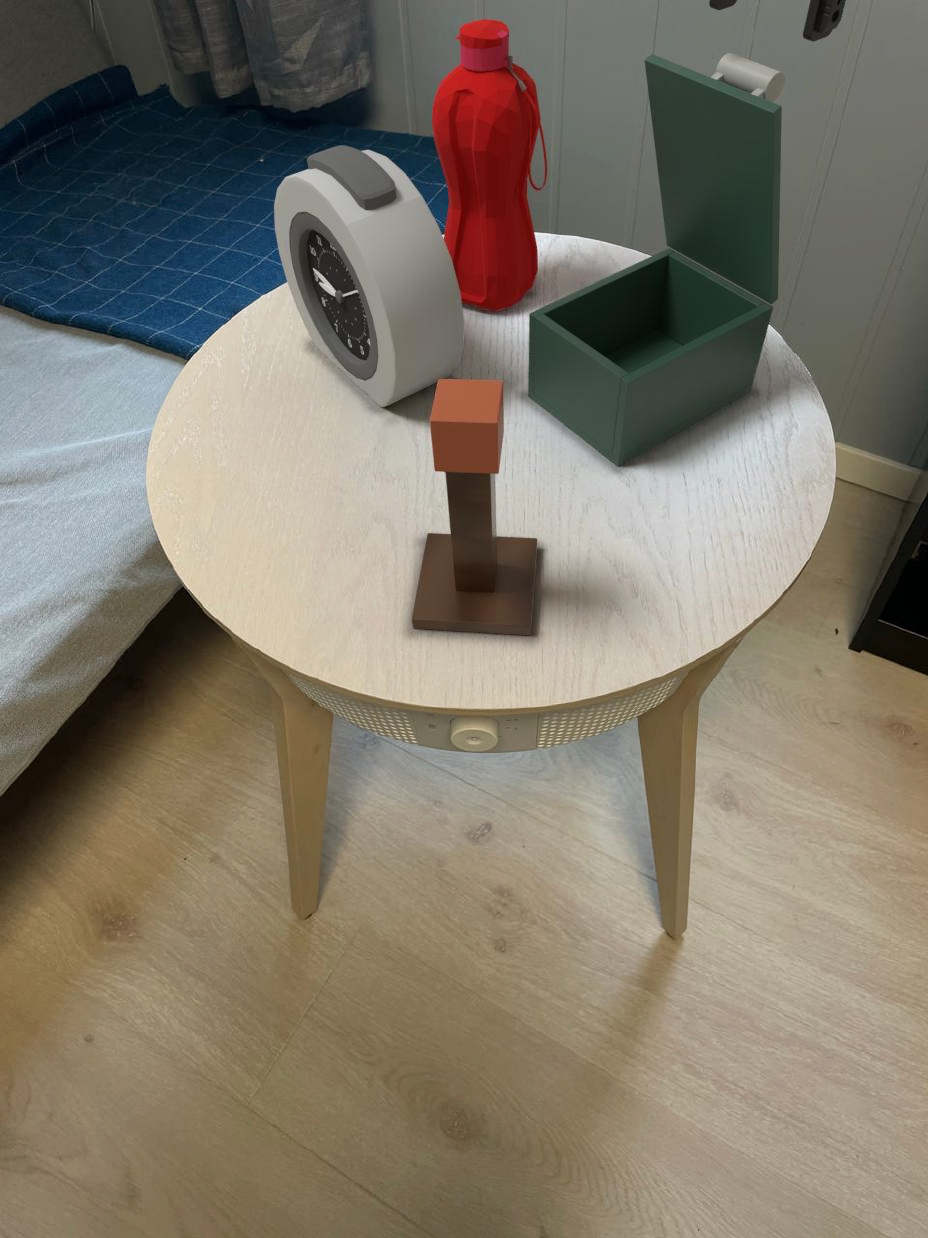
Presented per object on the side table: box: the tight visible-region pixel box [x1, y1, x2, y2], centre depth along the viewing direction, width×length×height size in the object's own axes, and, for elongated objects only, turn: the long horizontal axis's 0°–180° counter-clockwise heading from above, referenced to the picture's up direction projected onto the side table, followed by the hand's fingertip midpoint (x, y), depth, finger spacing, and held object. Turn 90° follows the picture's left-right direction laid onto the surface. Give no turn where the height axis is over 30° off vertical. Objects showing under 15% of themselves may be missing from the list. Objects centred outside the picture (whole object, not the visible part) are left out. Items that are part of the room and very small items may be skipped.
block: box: [429, 378, 505, 475], centre depth 55 cm, size 4×4×4 cm
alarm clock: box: [273, 145, 465, 408], centre depth 79 cm, size 21×8×20 cm, turn 36°
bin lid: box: [644, 52, 786, 305], centre depth 69 cm, size 18×13×5 cm
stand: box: [411, 472, 538, 636], centre depth 62 cm, size 9×9×14 cm
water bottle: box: [431, 18, 548, 312], centre depth 83 cm, size 9×11×25 cm
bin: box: [527, 247, 774, 467], centre depth 78 cm, size 17×13×9 cm
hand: (767, 21), depth 59 cm, fingers open, 8 cm apart
